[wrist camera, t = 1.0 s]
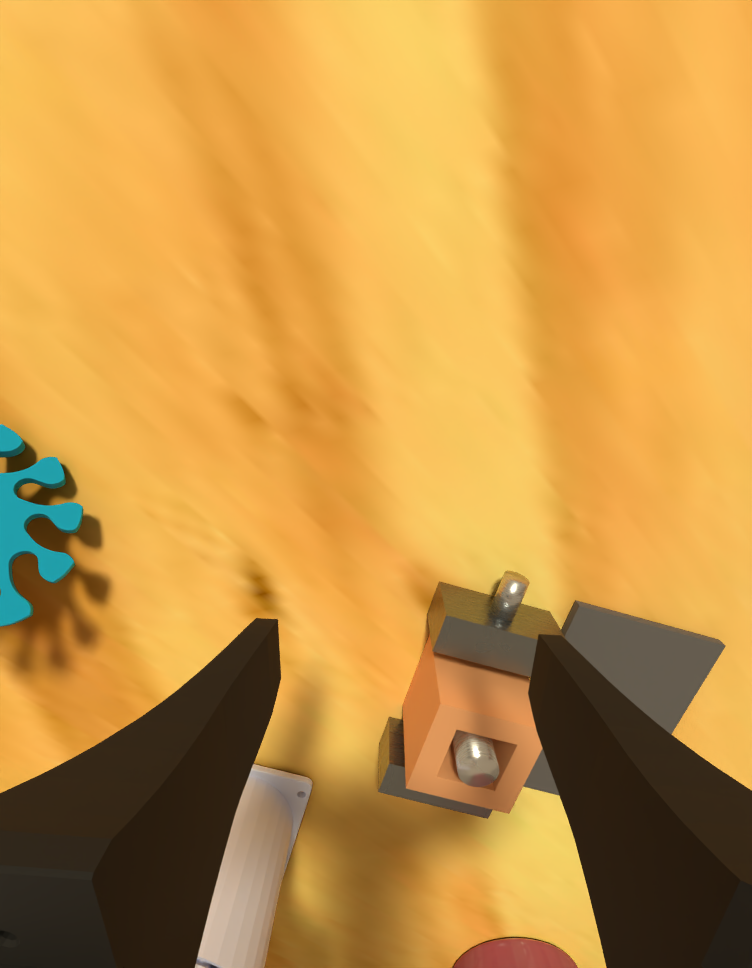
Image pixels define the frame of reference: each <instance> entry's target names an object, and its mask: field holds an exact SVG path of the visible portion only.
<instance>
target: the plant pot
mask: <svg viewBox="0 0 752 968" xmlns="http://www.w3.org/2000/svg"><path fill="white" fill-rule="evenodd" d="M454 968H578V967H577V965H576V964H575V962H574V961H573V960H572V959H571V957H570V956H569V955H567V954H566V953H565V952H564V951H562V950H561V949H559V948H557V947H555V946H553V945H551V944H548V943H545V942H542V941H538V940H533V939H525V938H507V939H498V940H493V941H489V942H486V943H483V944H480V945H478V946H476V947H474V948H472V949H471V950H469V951H467V952H466V953H465V954H464V955H462V956H461V957H460V958H459V960H458V961H457V962H456V963H455V965H454Z"/></svg>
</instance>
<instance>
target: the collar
mask: <svg viewBox="0 0 752 968" xmlns="http://www.w3.org/2000/svg"><path fill="white" fill-rule="evenodd" d="M529 684H530V680H529V678H528V676H524V675H520V674H517V673H513V672H509V671H505V670H501V669H498V668H494V667H490V666H486V665H482V664H479V663H475V662H471V661H467V660H463V659H459V658H456V657H452V656H448V655H444V654H440V653H437V652H433V651H432V645H431V638H430V635H429V637H428V640H427V643H426V645H425V648H424V650H423V653H422V656H421V658H420V661H419V664H418V666H417V669H416V672H415V674H414V677H413V680H412V682H411V685H410V688H409V690H408V693H407V695H406V698H405V701H404V703H403V725H404V752H405V778H406V789H410V790H414V791H418V792H422V793H427V794H431V795H435V796H439V797H443V798H447V799H451V800H455V801H459V802H463V803H468V804H472V805H476V806H480V807H484V808H488V809H492V810H496V811H500V812H504V813H510V811H511V809H512V807H513V805H514V803H515V801H516V799H517V797H518V795H519V793H520V791H521V790H522V788H523V786H524V784H525V782H526V780H527V778H528V776H529V774H530V772H531V770H532V768H533V766H534V764H535V762H536V760H537V758H538V756H539V754H540V752H541V750H542V745H541V742H540V739H539V736H538V734H537V731H536V727H535V722H534V718H533V714H532V710H531V705H530V700H529V696H528V690H529ZM456 730H461V731H464V732H468V733H472V734H476V735H480V736H484V737H488V738H491V739H492V742H493V746H494V750H495V754H496V758H497V762H498V766H499V775H498V777H497V779H496V780H495V781H494V782H492V783H491V784H489V785H487V786H483V787H473V786H469V785H467V784H465V783H463V782H462V781H461V780H460V778H459V776H458V772H457V766H456V759H455V753H454V747H453V740H452V739H453V737H454V735H455V732H456Z"/></svg>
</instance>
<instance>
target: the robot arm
mask: <svg viewBox="0 0 752 968" xmlns="http://www.w3.org/2000/svg"><path fill="white" fill-rule="evenodd" d="M280 680H281V670H280V651H279V633H278V619H261V618H256V619H255V620H254V621H253V622H252V623H250V624H249V625H248V626H247V627H246V628H245V629H244V630H243V631H242V632H241V633H240V634H239V635H238V636H237V637H236V638H235V639H234V640H233V641H232V642H231V643H230V644H229V645H228V646H227V647H226V648H225V649H224V650H223V651H222V652H221V653H219V654H218V655H217V656H216V657H215V658H214V659H213V660H212V661H211V662H210V663H209V664H207V665H206V666H205V667H204V668H203V669H202V670H201V671H200V672H199V673H197V674H196V675H195V676H194V677H193V678H191V679H190V680H189V681H188V682H187V683H185V684H184V685H183V686H182V687H181V688H179V689H178V690H177V691H176V692H175V693H173V694H172V695H171V696H169V697H168V698H167V699H166V700H164V701H163V702H162V703H160V704H159V705H157V706H156V707H155V708H153V709H152V710H150V711H149V712H147V713H146V714H145V715H143V716H142V717H140V718H139V719H137V720H136V721H134V722H133V723H131V724H129V725H128V726H126V727H125V728H123V729H121V730H120V731H118V732H117V733H115V734H113V735H112V736H110V737H109V738H107V739H105V740H104V741H102V742H101V743H99V744H97V745H95V746H94V747H92V748H90V749H88V750H87V751H85V752H83V753H81V754H79V755H78V756H76V757H74V758H72V759H70V760H68V761H66V762H64V763H63V764H61V765H59V766H57V767H55V768H53V769H51V770H49V771H47V772H45V773H43V774H41V775H39V776H37V777H35V778H33V779H30V780H28V781H26V782H24V783H22V784H20V785H17V786H15V787H13V788H11V789H9V790H7V791H4V792H2V793H0V968H264V967H265V962H266V957H267V952H268V947H269V942H270V937H271V932H272V927H273V922H274V917H275V912H276V907H277V902H278V897H279V892H280V887H281V883H282V879H283V876H284V873H285V870H286V867H287V864H288V861H289V858H290V855H291V852H292V849H293V846H294V843H295V840H296V836H297V833H298V830H299V827H300V824H301V821H302V818H303V815H304V812H305V809H306V806H307V803H308V800H309V796H310V793H311V790H312V785H313V782H312V780H311V779H310V778H308V777H305V776H301V775H297V774H293V773H288V772H284V771H280V770H276V769H272V768H268V767H264V766H260V765H255V764H254V761H255V758H256V756H257V753H258V751H259V748H260V745H261V743H262V740H263V737H264V734H265V732H266V729H267V726H268V724H269V721H270V718H271V715H272V712H273V708H274V704H275V701H276V697H277V692H278V688H279V684H280ZM528 696H529V700H530V705H531V710H532V714H533V718H534V722H535V727H536V731H537V734H538V736H539V739H540V742H541V745H542V748H543V751H544V754H545V756H546V759H547V762H548V765H549V768H550V770H551V773H552V776H553V779H554V781H555V784H556V787H557V790H558V792H559V795H560V798H561V801H562V803H563V806H564V809H565V812H566V814H567V817H568V820H569V823H570V826H571V829H572V833H573V836H574V839H575V842H576V846H577V850H578V853H579V857H580V861H581V865H582V869H583V872H584V876H585V880H586V884H587V888H588V892H589V896H590V900H591V904H592V908H593V912H594V916H595V920H596V924H597V928H598V932H599V936H600V940H601V945H602V949H603V954H604V958H605V962H606V967H607V968H752V791H751V790H750V789H748V788H747V787H745V786H744V785H742V784H741V783H739V782H738V781H736V780H735V779H733V778H732V777H730V776H728V775H727V774H725V773H724V772H722V771H721V770H719V769H718V768H716V767H715V766H714V765H712V764H711V763H709V762H708V761H706V760H705V759H703V758H702V757H701V756H699V755H698V754H697V753H695V752H694V751H693V750H691V749H690V748H689V747H687V746H686V745H684V744H683V743H682V742H680V741H679V740H678V739H676V738H675V737H674V736H672V735H671V734H670V733H669V732H667V731H666V730H665V729H664V728H662V727H661V726H660V725H659V724H657V723H656V722H655V721H654V720H653V719H651V718H650V717H649V716H648V715H647V714H645V713H644V712H643V711H642V710H641V709H640V708H638V707H637V706H636V705H635V704H634V703H633V702H631V701H630V700H629V699H628V698H627V697H626V696H625V695H624V694H622V693H621V692H620V691H619V690H618V689H617V688H616V687H615V686H614V685H613V684H612V683H610V682H609V681H608V680H607V679H606V678H605V677H604V676H603V675H602V674H601V673H600V672H599V671H598V670H597V669H596V668H595V667H594V666H593V665H592V664H591V663H590V662H589V661H588V660H586V659H585V658H584V657H583V656H582V655H581V654H580V653H579V652H578V651H577V650H576V649H575V648H574V647H573V646H572V645H571V644H570V643H569V642H568V641H567V640H566V639H565V638H564V637H563V636H561V635H547V634H539V635H538V640H537V646H536V651H535V657H534V662H533V668H532V673H531V679H530V684H529V690H528ZM301 791H303V792H301Z"/></svg>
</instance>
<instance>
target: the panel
mask: <svg viewBox="0 0 752 968" xmlns="http://www.w3.org/2000/svg"><path fill="white" fill-rule="evenodd" d="M561 631H562V633H563V635H564V636H565V638H566V640H567V641H568V642H569V643H570V644H571V645H572V646H573V647H574V648H575V649H576V650H577V651H578V652H579V653H580V654H581V655H582V656H583V657H584V658H585V659H586V660H588V661H589V662H590V663H591V664H592V665H593V666H594V667H595V668H596V669H597V670H598V671H599V672H600V673H601V674H602V675H603V676H604V677H605V678H606V679H607V680H608V681H609V682H610V683H612V684H613V685H614V686H615V687H616V688H617V689H618V690H619V691H620V692H621V693H622V694H624V695H625V696H626V697H627V698H628V699H629V700H630V701H631V702H633V703H634V704H635V705H636V706H637V707H638V708H640V709H641V710H642V711H643V712H644V713H645V714H647V715H648V716H649V717H650V718H651V719H653V720H654V721H655V722H656V723H657V724H659V725H660V726H661V727H662V728H664V729H665V730H666V731H667V732H669V733H670V734H672V732H673V731H674V729H675V727H676V726H677V724H678V723H679V721H680V719H681V718H682V716H683V714H684V713H685V711H686V710H687V708H688V706H689V705H690V703H691V701H692V700H693V698H694V696H695V695H696V693H697V692H698V690H699V688H700V687H701V685H702V683H703V682H704V680H705V679H706V677H707V675H708V674H709V672H710V670H711V669H712V667H713V666H714V664H715V662H716V661H717V659H718V657H719V656H720V654H721V653H722V651H723V649H724V648H725V645H724V644H723V643H722V642H721V641H720V640H718V639H714V638H711V637H707V636H703V635H700V634H696V633H693V632H689V631H685V630H682V629H678V628H674V627H671V626H667V625H663V624H660V623H656V622H652V621H649V620H645V619H642V618H638V617H634V616H631V615H627V614H623V613H620V612H616V611H612V610H609V609H605V608H601V607H598V606H594V605H590V604H587V603H583V602H580V601H575V603H574V605H573V607H572V609H571V611H570V613H569V615H568V617H567V619H566V621H565V623H564V626H563V628H562V630H561ZM524 787H528V788H532V789H536V790H540V791H544V792H548V793H552V794H556V795H559V792H558V790H557V787H556V784H555V781H554V779H553V776H552V773H551V770H550V768H549V765H548V762H547V759H546V756H545V754H544V751H543V748H542V750H541V752H540V754H539V756H538V758H537V760H536V762H535V764H534V766H533V768H532V770H531V772H530V774H529V776H528V778H527V780H526V782H525V784H524Z"/></svg>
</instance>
